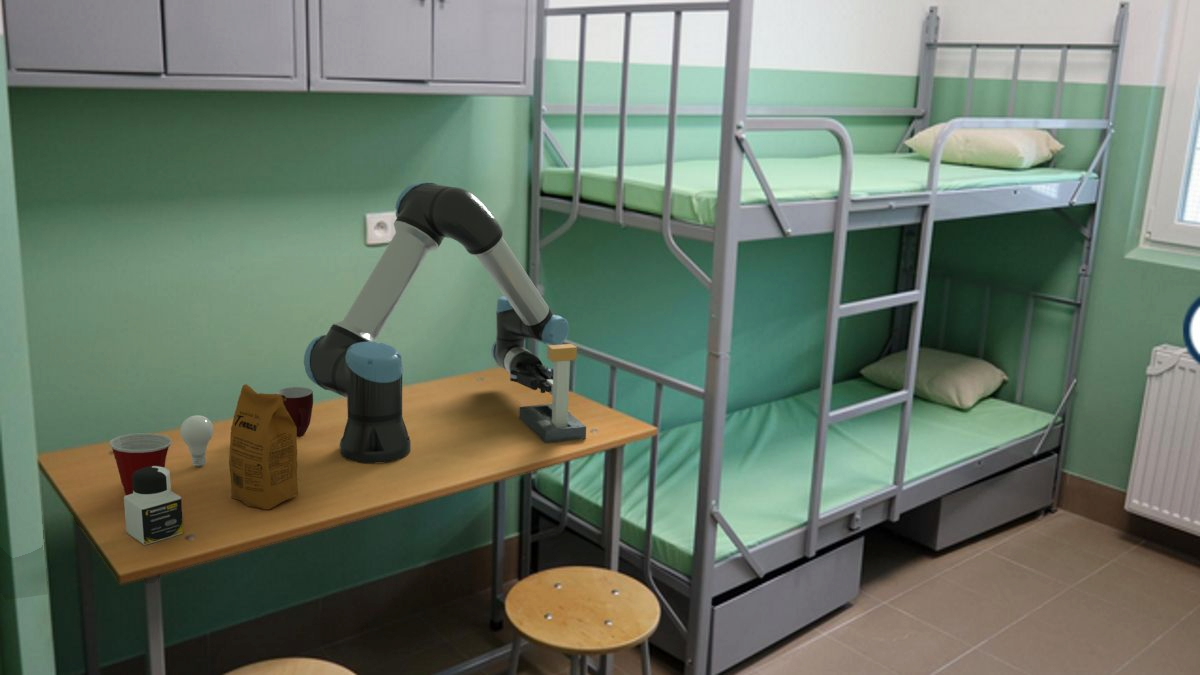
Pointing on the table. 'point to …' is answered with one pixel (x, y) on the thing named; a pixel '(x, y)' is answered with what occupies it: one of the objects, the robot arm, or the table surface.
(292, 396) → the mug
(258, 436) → the coffee package
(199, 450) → the lightbulb
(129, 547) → the table surface
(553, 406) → the lever
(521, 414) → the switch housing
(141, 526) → the medicine bottle
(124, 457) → the plastic cup
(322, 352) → the robot arm
